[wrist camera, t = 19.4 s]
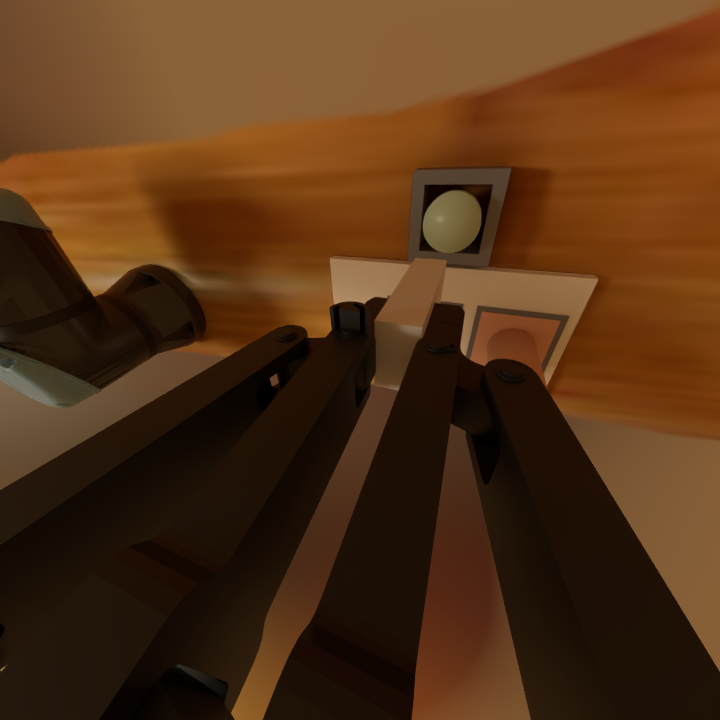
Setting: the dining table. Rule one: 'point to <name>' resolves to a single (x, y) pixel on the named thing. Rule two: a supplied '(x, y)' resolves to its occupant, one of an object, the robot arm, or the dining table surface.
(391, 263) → the picture board
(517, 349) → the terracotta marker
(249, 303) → the dining table surface
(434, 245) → the button
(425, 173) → the button base
